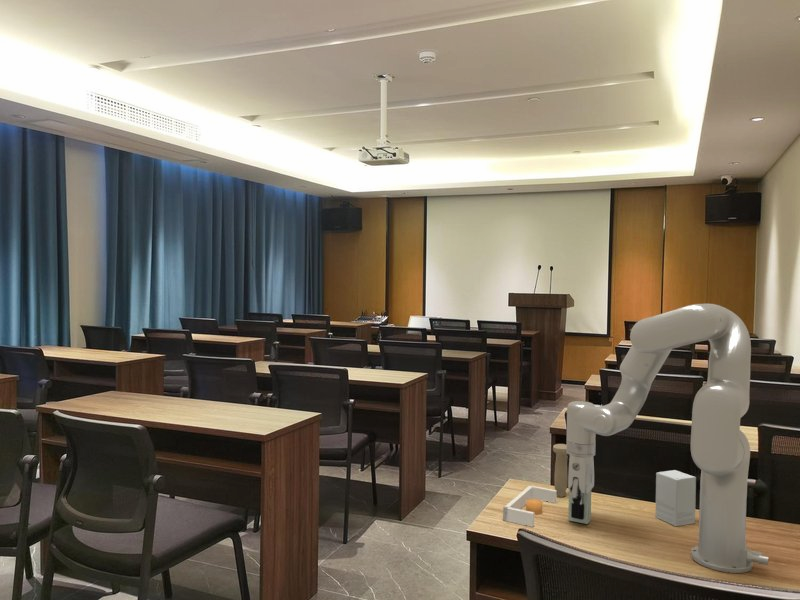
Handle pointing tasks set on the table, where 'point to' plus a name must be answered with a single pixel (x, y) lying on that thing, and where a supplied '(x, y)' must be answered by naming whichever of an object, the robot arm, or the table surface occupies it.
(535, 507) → the puck
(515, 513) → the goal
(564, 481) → the handle
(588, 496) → the grey tall block
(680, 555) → the table surface
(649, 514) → the table surface
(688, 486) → the supplement box
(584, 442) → the robot arm
